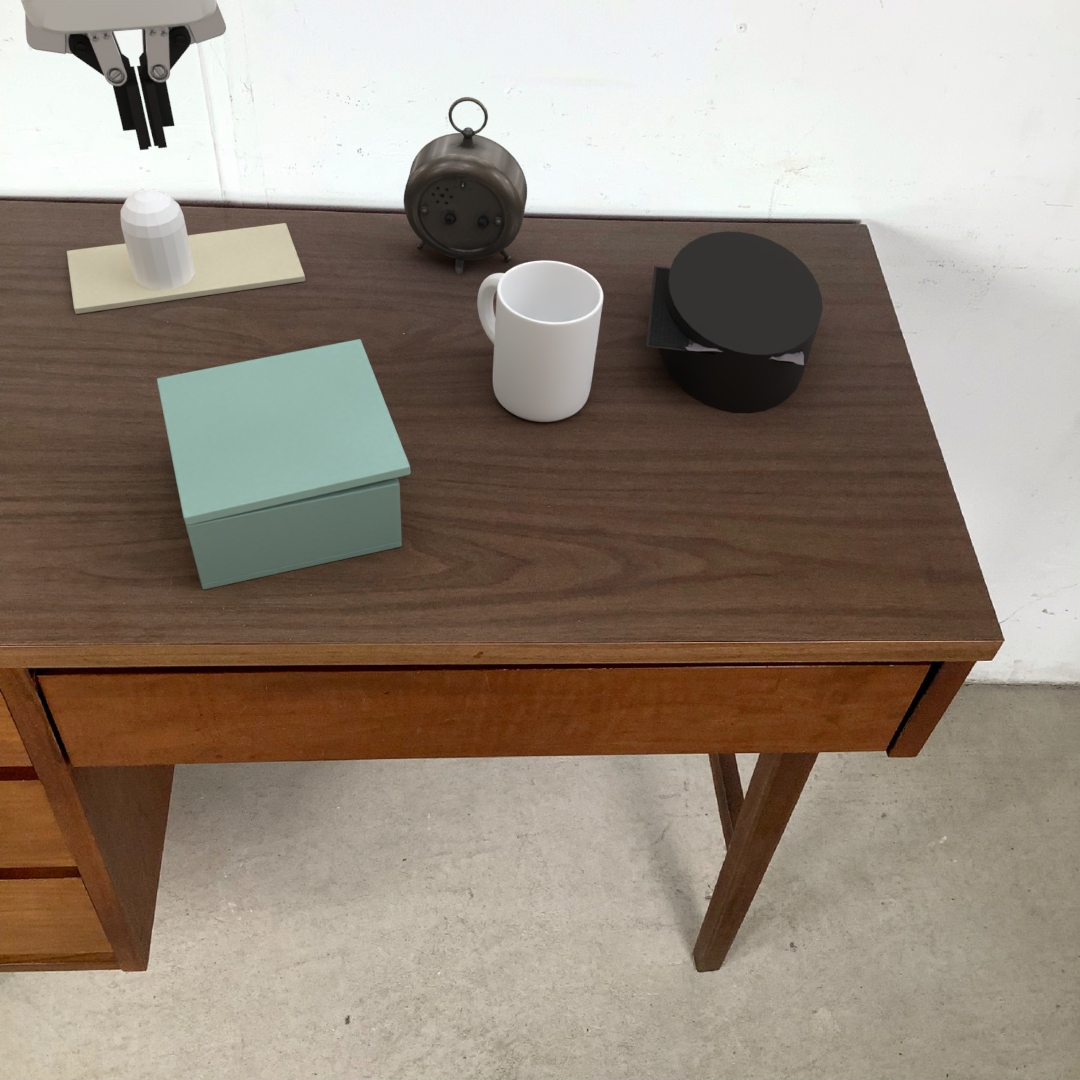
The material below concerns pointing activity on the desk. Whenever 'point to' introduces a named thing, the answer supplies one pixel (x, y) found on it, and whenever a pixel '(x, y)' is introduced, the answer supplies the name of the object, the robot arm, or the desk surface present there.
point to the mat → (217, 264)
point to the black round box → (735, 320)
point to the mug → (542, 337)
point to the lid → (278, 430)
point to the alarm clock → (465, 195)
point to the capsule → (156, 240)
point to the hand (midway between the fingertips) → (150, 137)
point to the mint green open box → (297, 534)
